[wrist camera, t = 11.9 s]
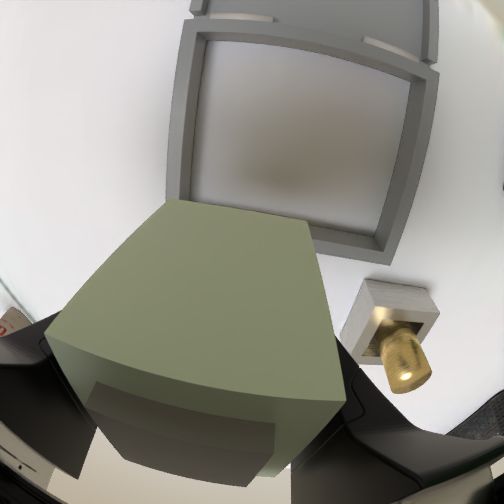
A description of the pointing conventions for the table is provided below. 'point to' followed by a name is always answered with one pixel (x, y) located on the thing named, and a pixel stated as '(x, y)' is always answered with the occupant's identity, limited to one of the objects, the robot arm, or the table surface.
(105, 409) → the module
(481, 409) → the storage bin
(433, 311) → the grey square socket block
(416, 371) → the rod
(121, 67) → the table surface
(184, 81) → the case
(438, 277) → the table surface
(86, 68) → the table surface
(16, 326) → the thermos bottle
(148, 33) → the table surface
